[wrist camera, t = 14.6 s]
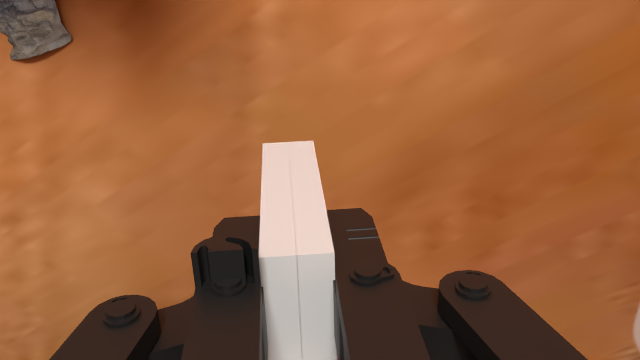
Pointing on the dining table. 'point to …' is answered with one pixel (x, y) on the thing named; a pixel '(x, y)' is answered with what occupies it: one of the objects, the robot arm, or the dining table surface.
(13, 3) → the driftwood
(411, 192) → the dining table surface
